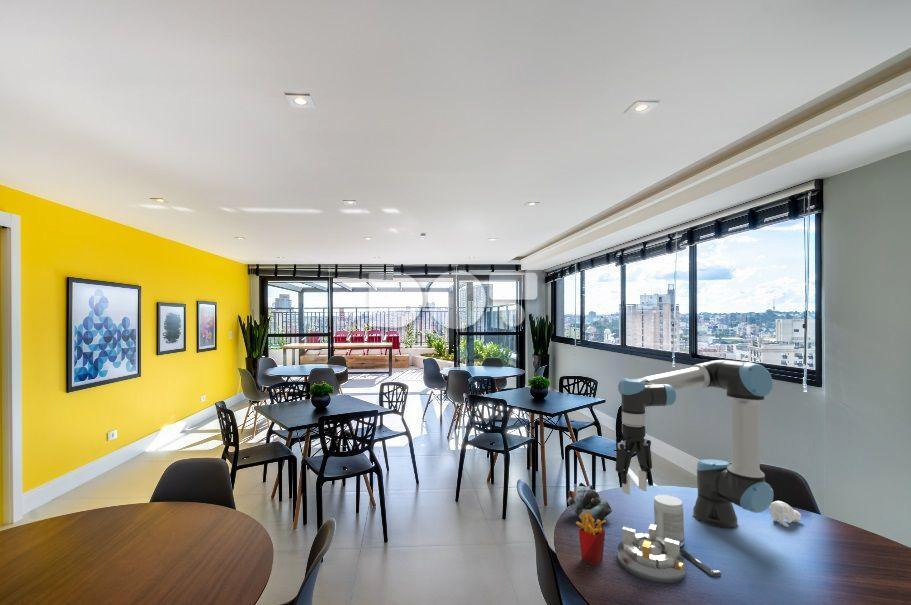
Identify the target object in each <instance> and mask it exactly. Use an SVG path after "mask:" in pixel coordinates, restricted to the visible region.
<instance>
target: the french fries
mask: <svg viewBox="0 0 911 605" xmlns="http://www.w3.org/2000/svg"><path fill="white" fill-rule="evenodd" d="M587 513H588V514H587V515H586V516H585V514H583V513H581V515H580V517H581V518H582V521H581V522H580V521H576V522H575V524H576V525H577V526H578V527H580V528H579V529H578V534H579V535H578V536H579V537H578V538H579V543H580V544H579V546H580V552H581V554H580V555H581V560H582V561H584V562H585V563H586V562H587V563H589V564H590V565H593V566H595V567H596V566H597V565H599V564H600V563H601V562H602V561H603V559H604V558H603V557H604V546H605V536H606V529H604V528H602V524H604V523H606V522H607V521H606V519H602V520H601V521H600V520H597V522H598V524H596V525H594V519H593V516H592V515H591V513H590V511H589V510H587ZM580 517H579V518H580ZM588 517H589V518H588ZM588 519H590V522H589V520H588Z"/></svg>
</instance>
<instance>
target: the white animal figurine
mask: <svg viewBox="0 0 911 605" xmlns="http://www.w3.org/2000/svg"><path fill="white" fill-rule="evenodd" d="M768 511H769V514H770V517H771V519H772V520H773V521H774V522H779V523H780V524H781V525H782V526H784V527H786V528H788V527H790V525H789V524H790V523H792V522H793V523H799V522H801V519H802V515H801V513H800V512H799V511H798V510H795V509H793V507H792V506H791V505H790V504H788V503H787V502H784V501H782V500H775V501H772V503H771V505H770V506H769V507H768ZM785 520H787V522H786V521H785Z"/></svg>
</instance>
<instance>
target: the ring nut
mask: <svg viewBox="0 0 911 605" xmlns="http://www.w3.org/2000/svg"><path fill="white" fill-rule="evenodd" d="M642 539H648V540H653V541H655V542H657V543H659V544H660V545H661V546H662V551H663V552H665V553H666V554H664V555H656V556H655V555H651V542H649V541H645V540H644V543H643V545H642V552H641V551H639V550H638V549H637V548H636V547H635V546H636V545H639V541H640V540H642ZM621 540H622V541H623V540H624V542H623V550H624V552H625V553H626V554H627V555H628V556H629V557H630V558H632V559H633V560H634V561H637V563H640V564H643V565H646V566H650V567H653V568H656V567H658V568H659V569H662V568H670V567H675V566H676V564H677V559H678V556H679V554H680V555H681V553H680V552H681V550H680V547H681V546H680V543H679V541H675V540H671V539H668V538H665V539H662V538H661V537H657V525H655V523H650V525H649V527H648V533H643V532H639V533H638V532H637V529H634V528H631V527H627V526H623V527H622V528H621Z"/></svg>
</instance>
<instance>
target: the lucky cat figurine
mask: <svg viewBox="0 0 911 605" xmlns="http://www.w3.org/2000/svg"><path fill="white" fill-rule="evenodd" d="M567 493H568V497H567V503H568V506H569V507H570V508H571V509H572V511H573V512H574V513H575V514H576V515H577V516H578V518H579V519H580V521H581V522H582V518H581V517H580V515H581V513H583V514H585V516H586V515H587V514H588V513H587V510H589V511H590V513H591V515H592V516H593V519H594V526H597V525H598V522H597V520H600V522H601V521H603V520H604V519H605V518H606V517H607V516H608V515H610V514H611V513H612V511H613V510H612V507H611V506H610V504H609V502H608V501H607V500H606V499H604V498H601V497H600V495H599V493H598V492H597V491H596V490H595V489H594V487H593V485H591V484H589V485H588V486H586V485H585V484H584V483H582V482H579V485H578V486H577V487H576V488H575V489H574V490H568V491H567ZM588 518H589V517H588ZM588 520H589V522H590V519H588Z"/></svg>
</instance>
